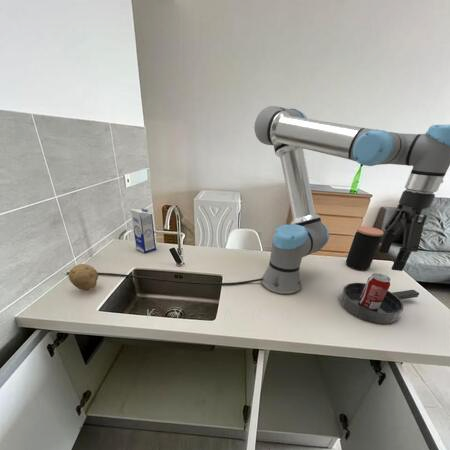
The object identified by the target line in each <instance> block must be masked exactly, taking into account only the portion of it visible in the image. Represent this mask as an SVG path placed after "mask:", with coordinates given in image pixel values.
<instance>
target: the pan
mask: <svg viewBox="0 0 450 450" xmlns="http://www.w3.org/2000/svg"><path fill="white" fill-rule="evenodd" d="M366 283H367V282H365V283H364V282H352V283H351V282H350V283H348V284H346V285H345V286H343V289H342V291H341V294H340V297H339V301H340V303H341V305H342V306H343V308H344V309H345V310H346V311H347V312H348V313H349V314H350V315H353V316H354V317H356V318H358V319H361V320H362V321H365V322H369V323H373V324H379V325H380V324H381V325H382V324H383V325H385V324H386V325H387V324H392V323H394V322H397V321H398V320H399V319H400V316H401V314H402V313H403V311H404V309H405V308H404V307H405V305H404V302H403V300H400V299H399V298H398V297H397V296H396V295H394V294H393V292H391V291H389V290H388V291H387V293H386V295H385V297H384V299H383V302H382V304H381V306H380V308H379V309H377V310H369V309H367V308H364V307H363V306H362V305H360V303H359V299H360V297H361V295H362V292H363V290H364V287H365V285H366ZM389 294H391V295H392V296H394V299H393V300H391V299H390V298H389V297H387V296H388V295H389ZM391 298H393V297H391Z"/></svg>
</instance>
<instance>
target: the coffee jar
mask: <svg viewBox="0 0 450 450" xmlns="http://www.w3.org/2000/svg"><path fill="white" fill-rule="evenodd" d="M384 235H385V234H384V230H381V229H379V228H377V227H372V226H364V225H362V226H358V227H357V228H356V232H355V233H354V236H353V239H352V241H351V246H350V247H349V251H348V254H347V255H346V260H345V264H346V266H347V267H348V268H349V269H352V270H355V271H361V272H364V271H367V270H368V269H370V268H371V266H372V263H373V261H374V258H375V256H376V253H377V251H378V249H379V247H380V245H381V242H382V236H384Z"/></svg>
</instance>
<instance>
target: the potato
mask: <svg viewBox="0 0 450 450" xmlns="http://www.w3.org/2000/svg"><path fill="white" fill-rule="evenodd" d="M68 272H69V274H68V280H69V282H70V283H71V284H72V285H73V286H74V287H75V288H76V289H78V290H81V291H83V292H84V291H85V292H86V291H90V290H92V289H94V288H95V287H96V286H97V284H98V279H99V275H98V273H99V272H98V270H96V269H95V268H94V267H93V266H92V265H89V264H86V263H79V264H75V265H74V266H73V267H72V268H71V269H70V270H69V271H68Z"/></svg>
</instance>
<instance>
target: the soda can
mask: <svg viewBox="0 0 450 450" xmlns="http://www.w3.org/2000/svg"><path fill="white" fill-rule="evenodd" d="M365 283H366V285H365V287H364V290H363V292H362V295H361V297H360V299H359V303H360V305H362V306H363V307H364V308H367V309H369V310H377V309H379V308H380V306H381V304H382V302H383V299H384V297H385V295H386V293H387V291H389V289H390V287H391V278H390V277H389V276H387V274H383V273H379V272H374V273H372V274H371V275H370V276H369V277H368V278H367V280H366V282H365Z"/></svg>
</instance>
